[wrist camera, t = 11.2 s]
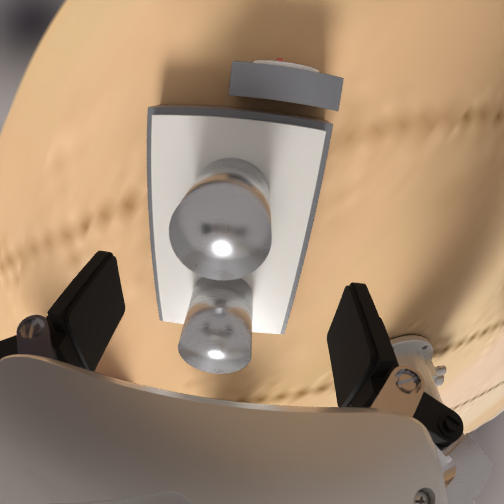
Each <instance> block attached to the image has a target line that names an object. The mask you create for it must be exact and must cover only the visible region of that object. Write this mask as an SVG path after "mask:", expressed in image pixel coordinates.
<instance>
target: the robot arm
mask: <svg viewBox="0 0 504 504" xmlns="http://www.w3.org/2000/svg"><path fill="white" fill-rule="evenodd" d="M124 312H125V303H124V298H123V293H122V288H121V283H120V277H119V272H118V266H117V260H116V257H115V256H113V254H112V253H111V252H106V251H98V252H97V253H96V254H95V255H94V256H93V257H92V258H91V260H90V261H89V262H88V263H87V264H86V265H85V266H84V268H83V269H82V270H81V271H80V272H79V274H78V275H77V276H76V277H75V278H74V279H73V281H72V282H71V283H70V284H69V286H68V287H67V288H66V289H65V290H64V292H63V293H62V294H61V295H60V297H59V298H58V299H57V301H56V302H55V303H54V304H53V306H52V307H51V308H50V310H49V311H48V312H47V313H48V316H47V317H46V318H45V317H43V316H41V315H31V316H29V317H27V318H25V319H24V320H22V322H21V323H20V324H19V326H18V328H17V335H15V336H13V337H10V338H7V339H5V340H2V341H0V504H475V502H474V500H475V498H476V497H477V495H478V494H479V493H480V492H481V490H482V489H483V487H484V486H485V485H486V483H487V482H488V480H489V479H490V477H491V475H492V471H493V467H492V463H491V461H490V459H489V458H488V457H487V456H486V454H485V453H484V452H483V451H482V450H481V448H480V447H479V446H478V445H477V444H476V442H474V440H473V439H472V438H471V437H470V435H469V434H468V433H467V434H465V435H464V434H463V422H462V419H461V418H460V416H459V415H458V414H457V413H456V412H454V411H453V410H451V409H450V408H448V407H447V406H445V405H444V404H443V403H442V400H441V397H440V395H439V392H438V389H437V387H436V386H439V385H442V384H443V382H444V376H443V375H444V374H445V373H446V367H445V366H437V367H434V365H433V363H432V361H431V359H432V357H433V347H432V345H431V343H430V341H429V340H428V339H427V338H425V337H422V336H417V335H407V336H402V337H397V338H394V339H391V340H390V339H389V336H388V334H387V331H386V329H385V326H384V324H383V321H382V319H381V318H380V317H379V315H378V312H377V310H376V308H375V305H374V303H373V300H372V298H371V295H370V293H369V291H368V288H367V286H366V284H362V283H351V284H350V286H346V287H345V289H344V292H343V295H342V298H341V300H340V303H339V306H338V308H337V311H336V313H335V316H334V319H333V321H332V324H331V326H330V329H329V331H328V334H327V343H328V348H329V354H330V360H331V365H332V371H333V378H334V384H335V390H336V397H337V403H338V407H300V406H280V405H265V404H254V403H244V402H235V401H227V400H219V399H212V398H206V397H199V396H193V395H188V394H182V393H177V392H172V391H167V390H162V389H157V388H153V387H148V386H144V385H140V384H136V383H132V382H128V381H124V380H120V379H117V378H113V377H110V376H106V375H103V374H99V373H96V372H93V371H94V370H95V369H96V367H97V365H98V363H99V361H100V359H101V357H102V355H103V353H104V351H105V349H106V347H107V345H108V343H109V341H110V339H111V337H112V335H113V333H114V331H115V329H116V327H117V326H118V324H119V322H120V320H121V318H122V316H123V315H124Z"/></svg>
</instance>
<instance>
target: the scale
mask: <svg viewBox="0 0 504 504" xmlns="http://www.w3.org/2000/svg"><path fill="white" fill-rule="evenodd" d="M343 79H344V78H341V77H337V76H333V75H328V74H323V73H319V70H318V69H315V68H312V67H309V66H305V65H300V64H295V63H289V62H283V59H281V58H277V60H276V61H272V60H255V61H253V63H252V62H240V61H232V69H231V77H230V86H229V95H231V96H243V97H253V98H262V99H270V100H278V101H285V102H292V103H298V104H304V105H309V106H315V107H320V108H325V109H330V110H335V111H338V110H339V104H340V98H341V92H342V85H343ZM332 127H333V124H331V123H329V122H327V121H325V120H322V119H316V118H311V117H305V116H299V115H293V114H286V113H279V112H272V111H264V110H255V109H245V108H234V107H221V106H203V105H157V106H152V107H148V118H147V186H148V210H149V226H150V240H151V251H152V262H153V271H154V280H155V289H156V297H157V304H158V311H159V318H160V320H161V321H165V322H172V323H179V324H184V321H185V318H186V314H187V310H188V307H189V303H190V300H191V296H192V292H193V289H194V286H195V284H196V283H197V281H198V280H199V279H200V278H202V277H203V276H200V275H198V274H196V273H194V272H193V271H191V270H190V269H188V268H187V267H186V266H185V265H184V264H183V263H182V262H181V261H180V260H179V259H178V257H177V256H176V254H175V253H174V251H173V249H172V246H171V243H170V240H169V224H170V220H171V217H172V215H173V213H174V211H175V209H176V208H177V206H178V205H179V203H180V202H181V200H182V199H183V198H184V196H185V195H186V193H187V192H188V190H189V189H190V188H191V186H192V185H193V183H194V182H195V181H196V179H197V178H198V176H199V175H200V174H201V172H202V171H203V170H204V169H205V168H206V167H207V166H208V165H210V164H211V163H213V162H215V161H217V160H220V159H224V158H238V159H243V160H246V161H248V162H250V163H252V164H253V165H255V166H256V167H257V168H259V170H260V171H261V172H262V173H263V174H264V176H265V177H266V179H267V182H268V184H269V189H270V206H271V229H272V243H271V248H270V251H269V254H268V256H267V258H266V259H265V261H264V262H263V263H262V265H261V266H260V267H259V268H258V269H256V270H255V271H254V272H252V273H251V274H249V275H247V276H244V277H242V279H243V280H244V281H245V282H247V284H248V285H249V286H250V288H251V290H252V293H253V318H252V332H259V333H271V334H284V333H285V330H286V326H287V323H288V319H289V316H290V312H291V308H292V305H293V301H294V297H295V293H296V290H297V286H298V282H299V278H300V274H301V270H302V266H303V262H304V258H305V254H306V250H307V246H308V242H309V238H310V233H311V229H312V225H313V221H314V216H315V212H316V207H317V203H318V198H319V193H320V189H321V184H322V179H323V174H324V169H325V164H326V159H327V154H328V149H329V144H330V138H331V133H332Z"/></svg>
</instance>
